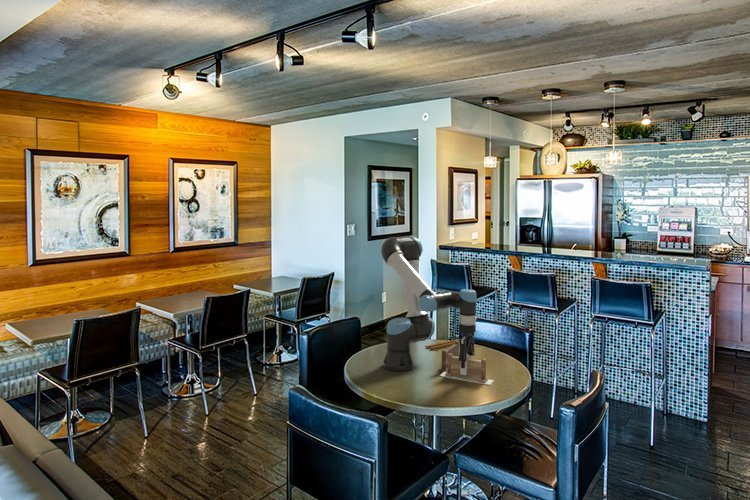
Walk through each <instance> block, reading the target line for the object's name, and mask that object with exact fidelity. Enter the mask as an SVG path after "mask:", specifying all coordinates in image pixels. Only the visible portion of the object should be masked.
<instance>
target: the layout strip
mask: <svg viewBox="0 0 750 500" xmlns="http://www.w3.org/2000/svg"><path fill="white" fill-rule="evenodd" d="M445 373H447V372H442V373H440V374H439V377H443V378H448V379H453V380H460V381H464V382H470V383H475V384H481V385H486V386H491V385H492V384H493V383H494V379H489V378H488V380H487V381H486V382H485V383H483V382H479V381H478V380H472V379H467V378H461V377H456V376H452V377H450V376H445Z"/></svg>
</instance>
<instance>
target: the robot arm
mask: <svg viewBox="0 0 750 500" xmlns="http://www.w3.org/2000/svg"><path fill="white" fill-rule="evenodd" d="M423 251H424V249H423V245H422V242H421V240H420V239H418V238H417V237H416V236H412V235H411V236H410V235H406V236H405V235H403V236H391V237H388V238H387V239H386V240H385V241H384V242H383V243H382V244H381V248H380V253H381V257H382V259H383V261H384V263H385V264H386V265H387V267H391V268H392V269H393V270H394V271H395V272H396V274H398V276H399V277H400V278H401V279H402V283H403V290H404V295H405V301H406V309H407V314H406V315H405V317H395V318H392V319H390V320H389V321H388V322H387V324H386V352H385V355H384V358H383V362H382V363H383V366H382V367H383V368H384V369H386V370H388V371H392V372H406V371H410V370H413V369H414V365H415V363H414V361H415V360H414V359H413V356H412V351H411V344H414V343H415V344H416V343H420V342H424V341H426V340H429V339H431V338H432V337H433V335H434V333H435V330H436V325H435V322H434V320H433V318H432V317H430V316H429V313H430V312H431V313H432V312H435V311H440V310H446V309H450V308H452V309H457V310H459V311H458V312H459V313H458V314H459V316H458V322H459V325H458V332H460V333H462V335H461V338H459V339H460V346H459V361H461V367H460V374H461V375H467V361H466V358H469V359H474V357H473V356H475V354H476V353H475V333H476V331H477V329H476V328H477V324H476V322H477V321H476V320H477V319H478V318H477V302H478V301H477V292H476V290H475V289H469V288H468V289H467V288H463V289H460V291H459V292H458V291H453V290H445V289H443V290H442V291H441V292H435V291H434V290H433V289H432V288H431V286H430V285H429V284H428V283H427V282H426V281H425V280H424V279H423V277H422V276H421V275H420V274H419V273H420V272H419V267H418V264H419V262H420V257H421V256H422V254H423ZM428 312H429V313H428Z"/></svg>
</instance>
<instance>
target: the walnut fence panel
mask: <svg viewBox="0 0 750 500" xmlns="http://www.w3.org/2000/svg"><path fill="white" fill-rule="evenodd" d="M448 347H449V348H445V349H442V350H441V366H440V367H439V368H438V372H442V373H443V372H448V353H452V354H453V356H457V357H459V350H460V346H459V341H455V344H453V345H450V346H448Z"/></svg>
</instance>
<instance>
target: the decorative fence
mask: <svg viewBox="0 0 750 500" xmlns="http://www.w3.org/2000/svg"><path fill="white" fill-rule="evenodd" d="M460 339H461V338H458V339H453V340H452V339H451V340H447V341H443V342H439V343H434V344H429V345H425V346H424V347H425V348H426V349H429V350H431V351H432V350H433V351H435V352H439V349H441V348H445V349H448V348H449V347H450V346H452V345H453V344H455V341H459V347H460Z"/></svg>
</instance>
